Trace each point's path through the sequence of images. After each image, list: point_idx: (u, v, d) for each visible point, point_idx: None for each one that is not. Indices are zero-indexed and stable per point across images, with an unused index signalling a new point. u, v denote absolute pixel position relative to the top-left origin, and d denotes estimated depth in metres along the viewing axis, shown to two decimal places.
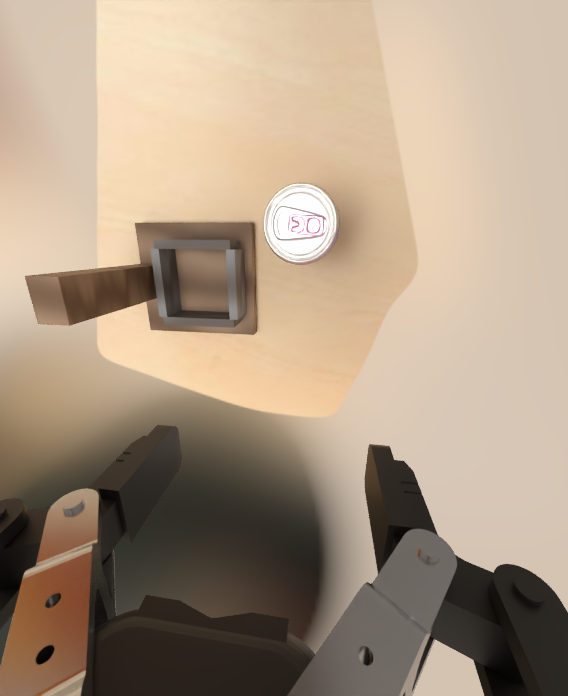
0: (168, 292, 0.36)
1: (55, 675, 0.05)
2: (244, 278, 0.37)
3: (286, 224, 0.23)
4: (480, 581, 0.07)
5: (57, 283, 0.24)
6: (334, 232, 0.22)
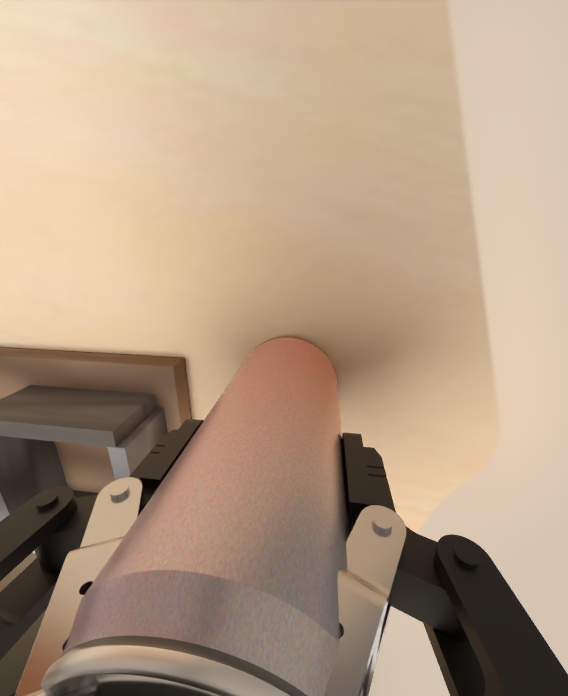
0: (19, 491, 0.19)
1: None
2: None
3: None
4: (428, 551, 0.08)
5: None
6: None
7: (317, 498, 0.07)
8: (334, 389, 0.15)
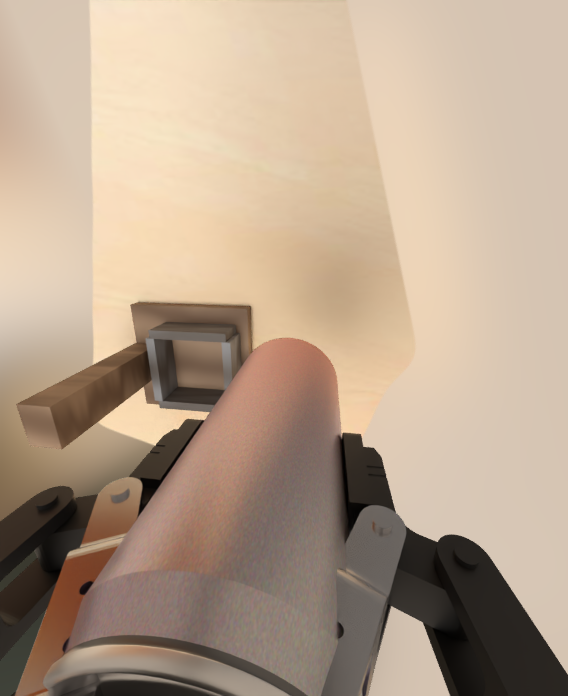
0: (163, 376, 0.36)
1: None
2: (240, 360, 0.37)
3: None
4: (428, 551, 0.08)
5: (48, 412, 0.23)
6: None
7: (317, 498, 0.07)
8: (334, 389, 0.15)
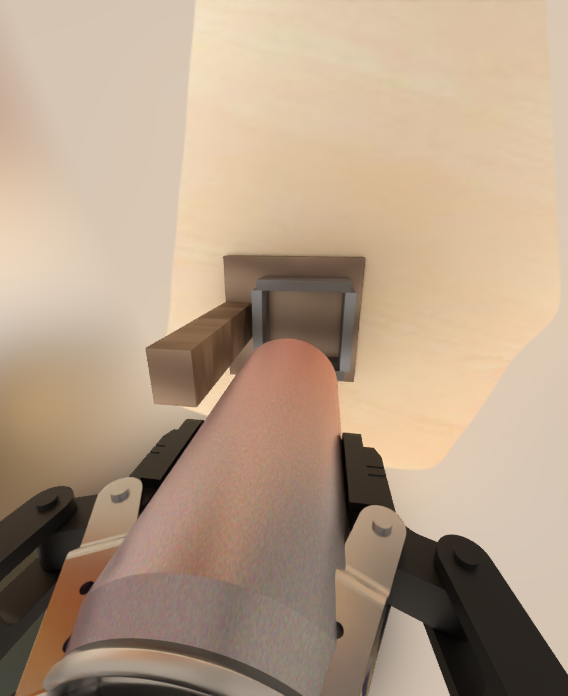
0: (264, 337, 0.31)
1: None
2: None
3: None
4: (428, 550, 0.08)
5: (188, 358, 0.18)
6: None
7: (317, 500, 0.07)
8: (334, 390, 0.15)
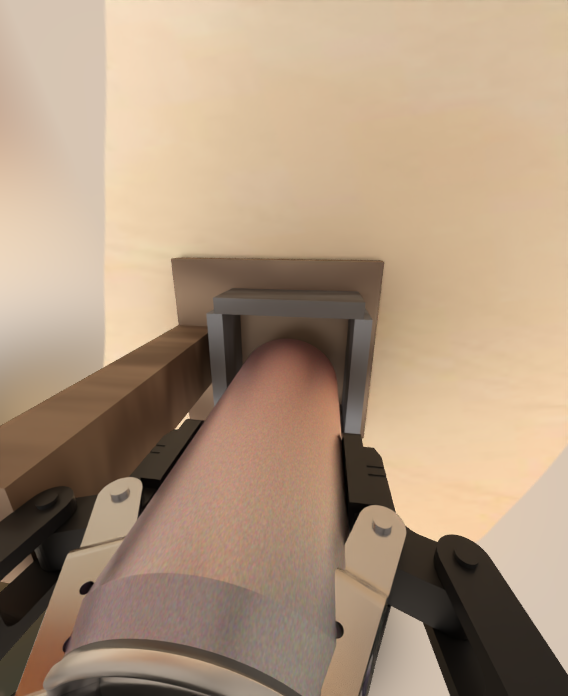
0: None
1: None
2: None
3: None
4: (428, 550, 0.08)
5: (3, 503, 0.08)
6: None
7: (317, 500, 0.07)
8: (334, 390, 0.15)
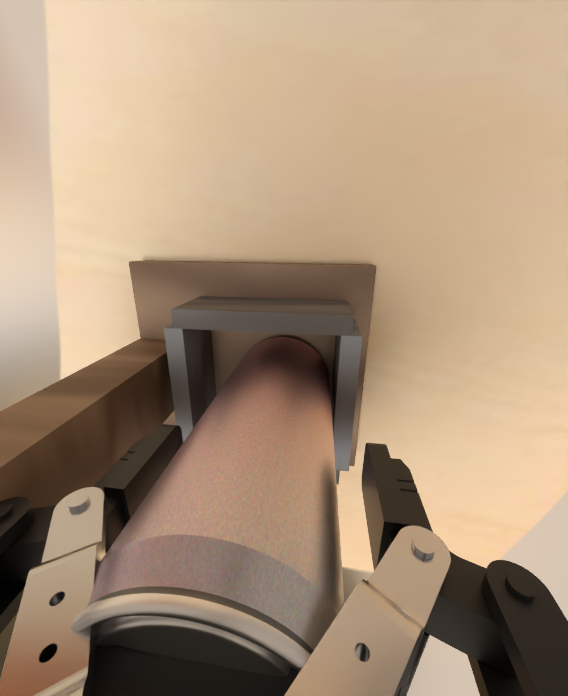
0: (198, 406, 0.18)
1: (56, 674, 0.05)
2: None
3: None
4: (474, 577, 0.07)
5: None
6: None
7: (308, 479, 0.08)
8: (326, 385, 0.15)
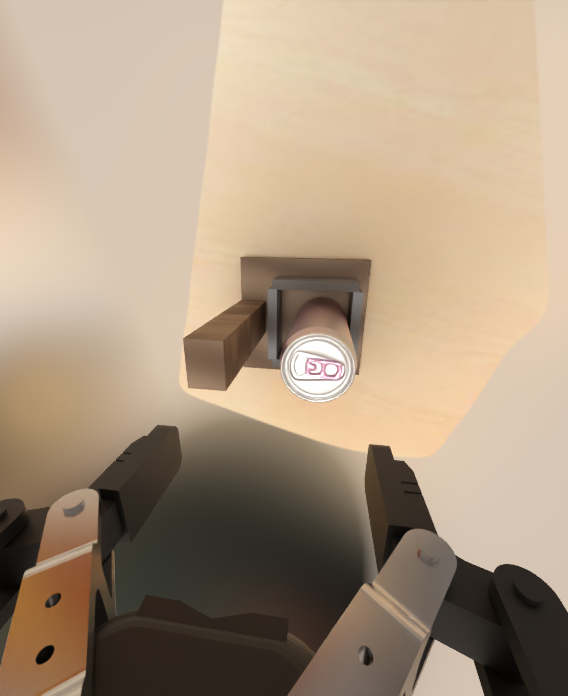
0: (277, 332, 0.34)
1: (55, 675, 0.05)
2: None
3: (303, 365, 0.22)
4: (480, 581, 0.07)
5: (220, 347, 0.21)
6: (352, 378, 0.22)
7: (344, 328, 0.24)
8: (345, 318, 0.32)
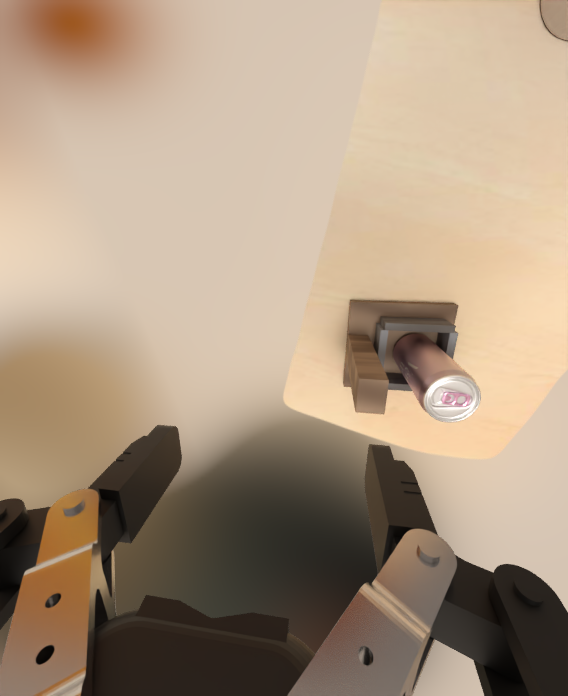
0: None
1: (54, 675, 0.05)
2: None
3: (439, 396, 0.32)
4: (480, 581, 0.07)
5: (386, 385, 0.30)
6: (477, 406, 0.31)
7: None
8: None
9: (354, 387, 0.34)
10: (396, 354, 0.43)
